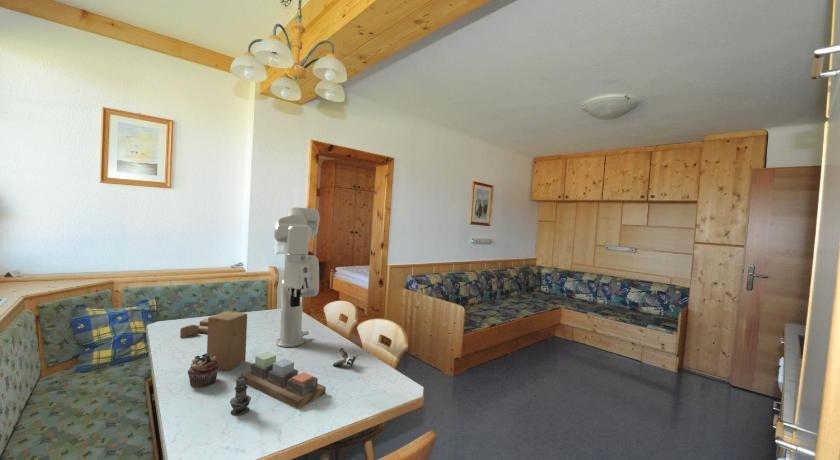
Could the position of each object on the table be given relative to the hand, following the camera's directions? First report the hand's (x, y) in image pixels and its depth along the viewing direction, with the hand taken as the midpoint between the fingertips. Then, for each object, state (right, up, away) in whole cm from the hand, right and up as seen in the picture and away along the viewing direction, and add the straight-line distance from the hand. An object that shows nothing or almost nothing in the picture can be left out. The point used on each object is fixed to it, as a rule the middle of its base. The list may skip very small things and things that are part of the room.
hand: (294, 306), depth 132 cm
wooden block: (-30, -25, +7) cm, 40 cm away
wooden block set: (-57, -23, +40) cm, 74 cm away
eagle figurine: (+16, -28, +13) cm, 34 cm away
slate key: (-1, -22, -9) cm, 24 cm away
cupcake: (-30, -26, -8) cm, 40 cm away
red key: (+7, -25, -14) cm, 29 cm away
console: (-1, -27, -8) cm, 29 cm away
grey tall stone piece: (-8, -28, -24) cm, 38 cm away
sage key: (-10, -22, -4) cm, 24 cm away
